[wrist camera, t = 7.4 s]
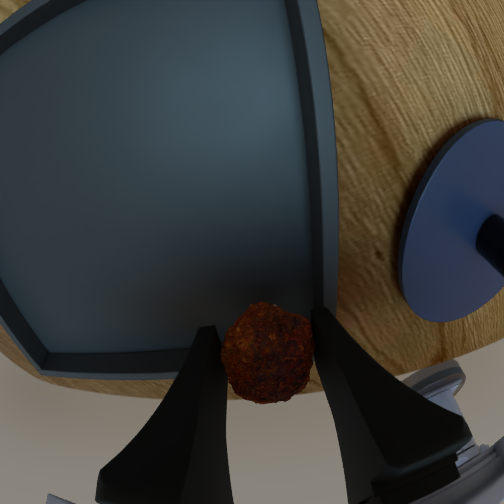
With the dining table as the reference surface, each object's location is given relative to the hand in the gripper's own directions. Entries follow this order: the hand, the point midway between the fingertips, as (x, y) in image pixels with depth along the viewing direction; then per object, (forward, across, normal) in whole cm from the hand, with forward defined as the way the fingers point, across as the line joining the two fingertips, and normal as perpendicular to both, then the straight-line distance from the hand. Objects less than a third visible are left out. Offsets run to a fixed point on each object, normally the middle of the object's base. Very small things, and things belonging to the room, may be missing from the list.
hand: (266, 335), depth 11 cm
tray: (+2, +6, -6) cm, 8 cm away
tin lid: (+2, -12, -2) cm, 13 cm away
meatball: (+1, 0, 0) cm, 1 cm away
